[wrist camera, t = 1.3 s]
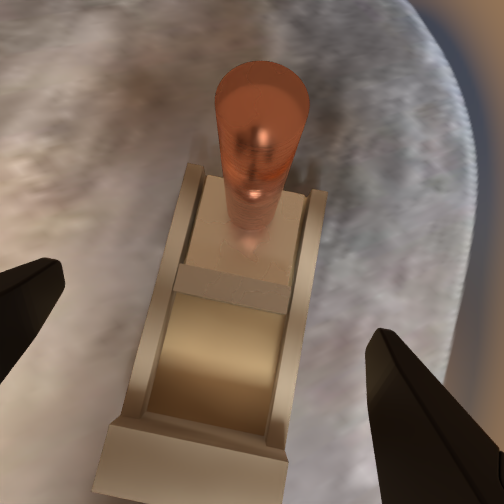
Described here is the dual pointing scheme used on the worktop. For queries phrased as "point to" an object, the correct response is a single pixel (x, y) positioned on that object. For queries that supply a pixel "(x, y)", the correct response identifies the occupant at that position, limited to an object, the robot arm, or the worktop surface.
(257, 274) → the knobbed slide block
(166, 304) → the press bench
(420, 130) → the worktop surface
